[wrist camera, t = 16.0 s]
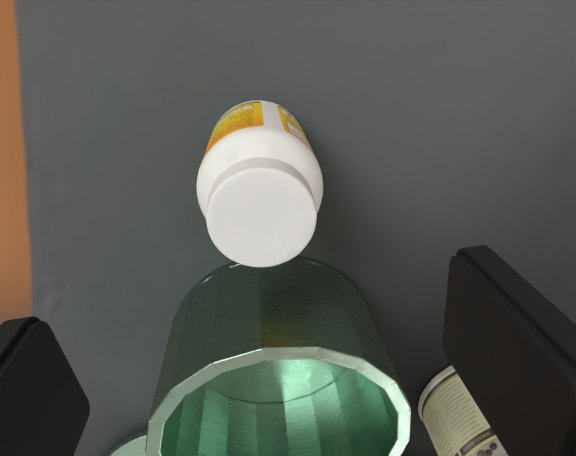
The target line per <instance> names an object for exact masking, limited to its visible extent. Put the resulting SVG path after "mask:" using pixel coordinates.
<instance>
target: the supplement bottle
mask: <svg viewBox="0 0 576 456" xmlns="http://www.w3.org/2000/svg"><path fill="white" fill-rule="evenodd" d="M322 196H323V178H322V173H321V169H320V166H319V164H318V161H317V159H316V157H315V155H314V153H313V151H312V148H311V147H310V144H309V142H308V140H307V138H306V136H305V134H304V132H303V130H302V128H301V126H300V125H299V123H298V121H297V120H296V119H295V117H294V116H293V115H292V114H291V113H290V112H289V111H287V110H286V109H285V108H283V107H281V106H279V105H277V104H275V103H272V102H268V101H259V100H255V101H248V102H244V103H242V104H239V105H237V106H235V107H233V108H232V109H230V110H229V111H227V112H226V113H225V114H224V115H223V116H222V117H221V118H220V120H219V121H218V122H217V124H216V126H215V127H214V130H213V132H212V135H211V138H210V141H209V144H208V147H207V149H206V152H205V155H204V157H203V160H202V163H201V166H200V168H199V172H198V177H197V197H198V202H199V205H200V208H201V210H202V213H203V215H204V216H205V218H206V224H207V228H208V232H209V235H210V237H211V239H212V241H213V243H214V244H215V246H216V247H217V248H218V249H219V250H220V251H221V252H222V253H223V254H224V255H225V256H226V257H228V258H229V259H231V260H233V261H235V262H237V263H240V264H242V265H246V266H251V267H271V266H275V265H279V264H281V263H284V262H286V261H289V260H291V259H292V258H294V257H295V256H297V255H298V254H299V253H300V252H301V251H302V250H303V249H304V248H305V247H306V245H307V244H308V243H309V241H310V239H311V238H312V236H313V233H314V230H315V227H316V220H317V212H318V210H319V208H320V205H321V201H322Z"/></svg>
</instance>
